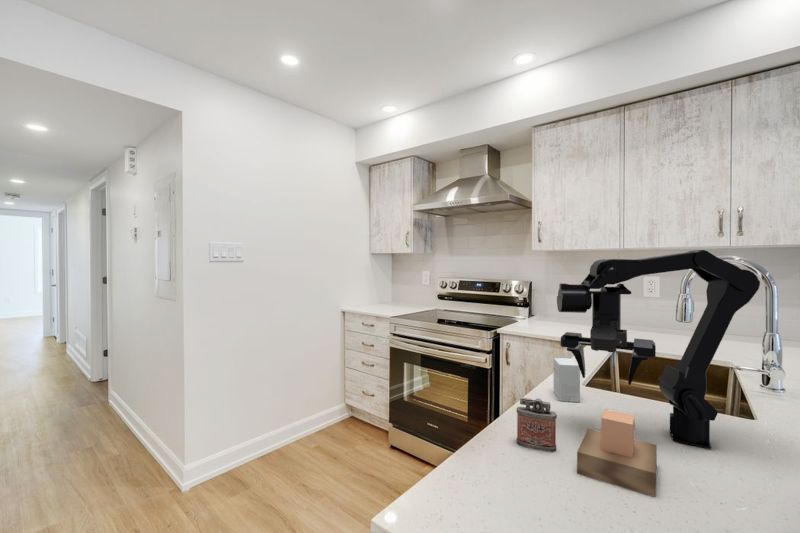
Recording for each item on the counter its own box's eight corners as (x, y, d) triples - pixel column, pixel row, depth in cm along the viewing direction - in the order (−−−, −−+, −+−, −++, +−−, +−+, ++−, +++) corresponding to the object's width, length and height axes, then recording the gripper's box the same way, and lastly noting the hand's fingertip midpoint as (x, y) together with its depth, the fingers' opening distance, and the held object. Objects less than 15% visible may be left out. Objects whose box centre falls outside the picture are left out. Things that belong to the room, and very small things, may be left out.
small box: (580, 403, 103) (580, 365, 103) (558, 401, 104) (559, 364, 104) (572, 393, 111) (573, 358, 111) (553, 391, 112) (553, 357, 112)
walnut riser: (656, 465, 71) (656, 444, 71) (655, 497, 61) (655, 473, 61) (587, 447, 78) (587, 428, 78) (577, 473, 68) (577, 451, 68)
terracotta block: (634, 446, 70) (634, 415, 70) (632, 457, 66) (632, 424, 66) (604, 439, 73) (604, 409, 73) (601, 449, 69) (601, 417, 69)
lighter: (556, 446, 78) (557, 399, 78) (556, 453, 75) (556, 405, 75) (517, 438, 82) (517, 393, 82) (515, 445, 79) (515, 399, 79)
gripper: (556, 314, 83) (555, 383, 83) (656, 321, 73) (656, 399, 73) (564, 309, 93) (564, 371, 93) (655, 315, 82) (654, 384, 82)
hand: (606, 380), depth 85 cm, fingers open, 9 cm apart
